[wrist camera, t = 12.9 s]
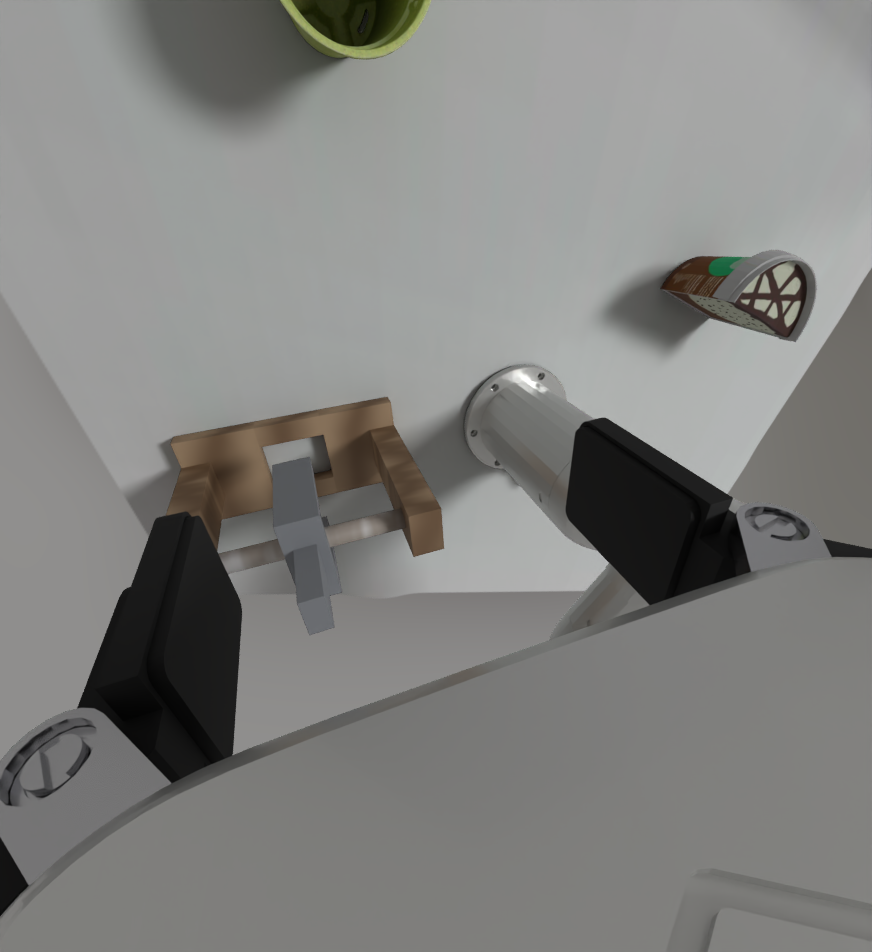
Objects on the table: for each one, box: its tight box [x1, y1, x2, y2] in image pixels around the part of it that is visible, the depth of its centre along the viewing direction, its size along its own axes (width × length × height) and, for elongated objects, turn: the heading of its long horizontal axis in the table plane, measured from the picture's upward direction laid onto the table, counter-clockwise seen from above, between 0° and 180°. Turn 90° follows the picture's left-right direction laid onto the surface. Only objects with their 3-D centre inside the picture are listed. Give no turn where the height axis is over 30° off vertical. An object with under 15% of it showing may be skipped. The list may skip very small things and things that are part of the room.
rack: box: [166, 397, 444, 574], centre depth 37 cm, size 20×9×16 cm, turn 94°
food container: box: [660, 250, 817, 342], centre depth 44 cm, size 12×6×10 cm, turn 67°
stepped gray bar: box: [272, 457, 342, 635], centre depth 32 cm, size 8×3×14 cm, turn 6°
